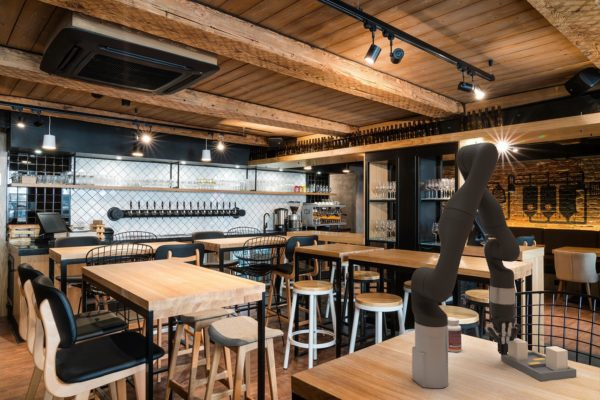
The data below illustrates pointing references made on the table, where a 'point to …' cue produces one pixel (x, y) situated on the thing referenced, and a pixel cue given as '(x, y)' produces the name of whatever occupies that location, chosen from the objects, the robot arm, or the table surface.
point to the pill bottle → (454, 335)
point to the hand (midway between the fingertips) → (502, 354)
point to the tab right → (556, 358)
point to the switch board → (538, 367)
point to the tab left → (518, 349)
